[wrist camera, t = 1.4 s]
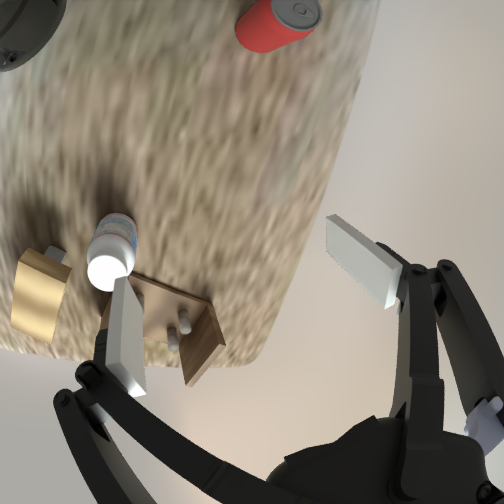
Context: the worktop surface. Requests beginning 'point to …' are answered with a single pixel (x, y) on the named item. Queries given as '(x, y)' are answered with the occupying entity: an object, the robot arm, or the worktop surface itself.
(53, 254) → the riser block
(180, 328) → the peg frame
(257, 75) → the worktop surface
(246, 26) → the beer can
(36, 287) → the shelf board
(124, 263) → the pill bottle
